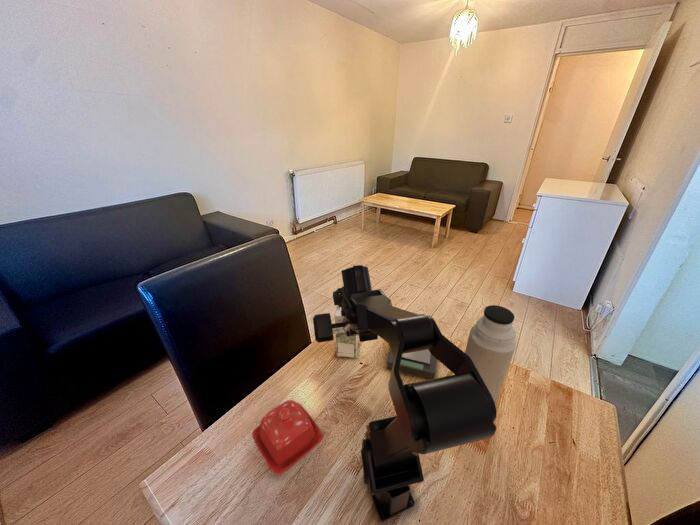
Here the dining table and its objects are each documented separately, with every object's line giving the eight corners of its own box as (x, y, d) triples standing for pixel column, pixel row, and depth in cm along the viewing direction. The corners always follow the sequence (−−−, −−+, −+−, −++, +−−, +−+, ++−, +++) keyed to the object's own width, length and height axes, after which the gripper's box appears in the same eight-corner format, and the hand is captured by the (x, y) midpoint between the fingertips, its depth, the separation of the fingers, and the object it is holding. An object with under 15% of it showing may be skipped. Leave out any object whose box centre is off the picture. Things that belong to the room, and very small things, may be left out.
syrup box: (357, 344, 83) (358, 303, 77) (356, 359, 78) (356, 316, 71) (338, 342, 84) (337, 302, 77) (335, 357, 78) (334, 315, 72)
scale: (433, 380, 72) (435, 371, 70) (386, 368, 75) (387, 360, 74) (436, 347, 82) (437, 339, 80) (395, 338, 85) (395, 331, 84)
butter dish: (327, 441, 58) (325, 414, 54) (276, 483, 51) (270, 456, 48) (297, 403, 66) (294, 377, 62) (250, 436, 59) (242, 409, 55)
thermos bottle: (485, 401, 66) (517, 302, 54) (493, 434, 59) (532, 329, 47) (449, 395, 68) (472, 297, 55) (453, 427, 61) (480, 323, 48)
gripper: (393, 277, 64) (376, 292, 79) (311, 287, 60) (309, 301, 75) (404, 327, 61) (384, 333, 75) (317, 341, 57) (314, 344, 72)
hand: (348, 326), depth 74 cm, fingers open, 9 cm apart
